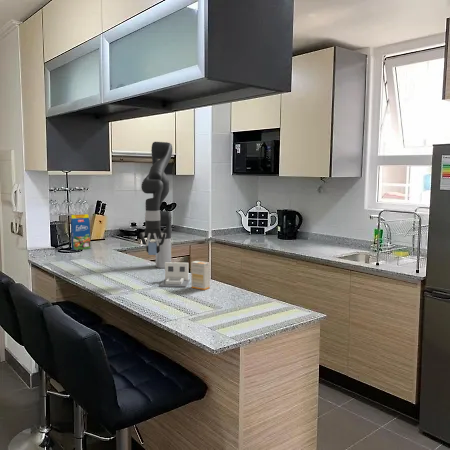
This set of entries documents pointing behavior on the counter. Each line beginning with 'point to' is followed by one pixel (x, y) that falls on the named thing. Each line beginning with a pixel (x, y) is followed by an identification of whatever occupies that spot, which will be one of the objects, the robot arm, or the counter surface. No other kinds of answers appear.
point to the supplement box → (200, 275)
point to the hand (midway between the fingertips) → (153, 252)
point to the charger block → (152, 248)
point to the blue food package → (80, 232)
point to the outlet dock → (175, 275)
